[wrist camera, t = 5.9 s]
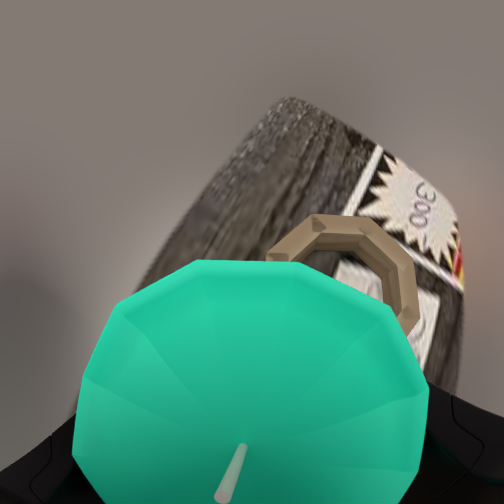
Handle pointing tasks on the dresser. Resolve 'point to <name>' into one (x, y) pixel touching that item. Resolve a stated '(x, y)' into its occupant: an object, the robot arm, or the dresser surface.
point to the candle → (251, 392)
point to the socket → (366, 248)
